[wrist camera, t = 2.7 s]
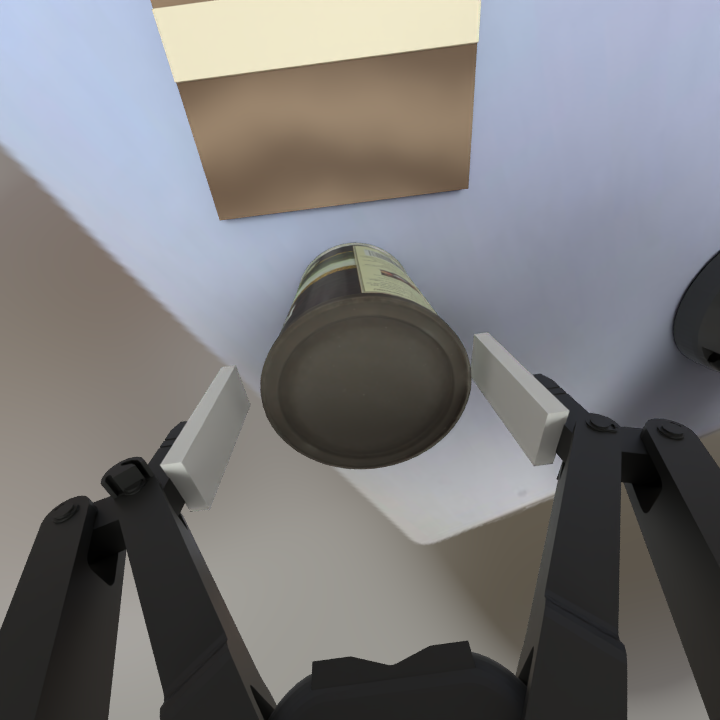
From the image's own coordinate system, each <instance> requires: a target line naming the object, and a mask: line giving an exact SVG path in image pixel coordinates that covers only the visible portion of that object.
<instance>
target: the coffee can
mask: <svg viewBox="0 0 720 720" xmlns="http://www.w3.org/2000/svg"><path fill="white" fill-rule="evenodd" d="M260 384H261V389H260V390H261V398H262V403H263V407H264V410H265V413H266V416H267V418H268V420H269V422H270V423H271V425H272V427H273V428H274V430H275V431H276V433H277V434H278V435H279V436H280V437H281V438H282V439H283V440H284V441H285V442H286V443H287V444H289V445H290V446H291V447H292V448H293V449H295V450H296V451H297V452H299V453H301V454H303V455H305V456H306V457H308V458H310V459H313V460H315V461H318V462H320V463H323V464H326V465H330V466H334V467H340V468H346V469H374V468H381V467H387V466H391V465H395V464H398V463H401V462H404V461H407V460H409V459H412V458H414V457H416V456H418V455H420V454H422V453H423V452H425V451H427V450H428V449H430V448H432V447H433V446H434V445H436V444H437V443H438V442H439V441H441V440H442V439H443V438H444V437H445V436H446V435H447V434H448V433H449V432H450V430H451V429H452V428H453V427H454V426H455V424H456V423H457V422H458V420H459V418H460V417H461V415H462V413H463V411H464V409H465V406H466V404H467V402H468V398H469V395H470V390H471V367H470V362H469V359H468V355H467V353H466V350H465V348H464V346H463V344H462V343H461V341H460V339H459V338H458V336H457V335H456V334H455V332H454V331H453V330H452V329H451V328H450V327H449V325H448V324H447V323H446V322H444V321H443V320H442V319H441V318H440V317H439V316H438V315H437V314H436V312H435V311H434V310H433V308H432V307H431V306H430V304H429V303H428V302H427V300H426V299H425V298H424V296H423V295H422V294H421V292H420V291H419V290H418V288H417V287H416V286H415V285H414V283H413V282H412V281H411V279H410V278H409V277H408V275H407V274H406V272H405V270H404V268H403V267H402V265H401V264H400V263H399V262H398V261H397V260H396V259H395V258H394V257H393V256H392V255H390V254H389V253H387V252H386V251H384V250H382V249H380V248H378V247H375V246H372V245H368V244H362V243H348V244H342V245H338V246H335V247H333V248H330V249H328V250H327V251H325V252H323V253H322V254H320V255H319V256H318V257H317V258H316V259H314V260H313V261H312V262H311V263H310V265H309V266H308V267H307V269H306V271H305V272H304V274H303V276H302V279H301V281H300V285H299V288H298V291H297V294H296V297H295V299H294V301H293V304H292V306H291V309H290V311H289V313H288V316H287V318H286V320H285V323H284V325H283V328H282V330H281V333H280V335H279V337H278V338H277V339H276V341H275V342H274V344H273V346H272V348H271V349H270V351H269V353H268V355H267V358H266V360H265V363H264V366H263V370H262V375H261V383H260Z"/></svg>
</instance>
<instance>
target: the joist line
mask: <svg viewBox="0 0 720 720" xmlns="http://www.w3.org/2000/svg"><path fill="white" fill-rule="evenodd" d="M480 8H481V0H214V1H207V2H199V3H192V4H185V5H177V6H170V7H162V8H155V9H152V11H153V14H154V17H155V21H156V24H157V27H158V30H159V33H160V36H161V39H162V43H163V46H164V49H165V52H166V55H167V58H168V62H169V65H170V68H171V71H172V74H173V77H174V81H175V82H176V83H182V82H189V81H197V80H205V79H212V78H220V77H227V76H235V75H242V74H250V73H257V72H265V71H272V70H280V69H287V68H295V67H302V66H310V65H317V64H325V63H332V62H340V61H348V60H355V59H363V58H370V57H378V56H385V55H393V54H400V53H408V52H415V51H423V50H430V49H438V48H445V47H453V46H460V45H468V44H475V43H478V40H479V24H480Z"/></svg>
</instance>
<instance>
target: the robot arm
mask: <svg viewBox="0 0 720 720" xmlns="http://www.w3.org/2000/svg"><path fill="white" fill-rule="evenodd" d="M674 339H675V343H676V345H677V347H678V349H679V350H680V352H681V353H682V354H683V355H684V356H686V357H687V358H689V359H691V360H693V361H695V362H697V363H699V364H701V365H703V366H705V367H707V368H709V369H711V370H714V371H717V372H720V253H719V254H718V255H717V256H716V257H715V258H714V259H713V260H712V261H711V262H710V263H709V264H708V265H707V266H706V267H705V268H704V269H703V271H702V272H701V273H700V274H699V275H698V277H697V278H696V279H695V281H694V282H693V283H692V285H691V286H690V288H689V289H688V291H687V293H686V294H685V296H684V298H683V300H682V302H681V304H680V306H679V309H678V312H677V315H676V318H675V323H674ZM471 378H472V379H473V381H474V382H475V383H476V385H477V386H478V388H479V389H480V390H481V392H482V393H483V395H484V396H485V398H486V399H487V400H488V402H489V403H490V405H491V406H492V407H493V409H494V410H495V412H496V413H497V415H498V416H499V417H500V419H501V420H502V422H503V423H504V424H505V426H506V427H507V429H508V430H509V431H510V433H511V434H512V436H513V437H514V439H515V440H516V441H517V443H518V444H519V446H520V447H521V448H522V450H523V451H524V453H525V454H526V456H527V457H528V458H529V460H530V461H531V463H532V464H533V465H534V466H539V465H546V464H553V461H554V458H555V455H556V453H557V454H558V456H559V457H560V458H561V459H562V460H563V462H562V465H561V468H560V471H559V474H558V477H557V480H558V483H557V488H556V492H555V497H554V502H553V507H552V512H551V517H550V521H549V526H548V532H547V536H546V541H545V545H544V550H543V555H542V560H541V565H540V570H539V574H538V579H537V584H536V589H535V594H534V598H533V603H532V608H531V613H530V618H529V622H528V628H527V633H526V636H525V641H524V645H523V648H522V652H521V655H520V659H519V663H518V668H517V672H516V676H515V675H514V674H513V673H512V672H511V671H509V670H508V669H507V668H505V667H504V666H502V665H501V664H499V663H498V662H496V661H494V660H492V659H490V658H488V657H486V656H483V655H481V654H478V653H474V652H471V649H470V646H469V642H468V641H462V642H455V643H447V644H440V645H433V646H429V647H427V648H425V649H423V650H421V651H419V652H417V653H416V654H414V655H412V656H410V657H408V658H406V659H404V660H402V661H401V662H399V663H397V664H394V665H385V664H381V663H377V662H372V661H368V660H364V659H359V658H355V657H344V658H336V659H329V660H322V661H314V662H313V663H312V674H311V675H309V676H307V677H305V678H304V679H303V680H301V681H300V682H298V683H297V684H296V685H295V686H294V687H293V688H292V689H291V690H290V691H289V692H288V693H287V694H286V695H285V696H284V697H283V699H282V700H281V701H280V702H279V703H278V705H276V703H275V701H274V699H273V697H272V696H271V693H270V692H269V690H268V688H267V687H266V685H265V683H264V682H263V680H262V678H261V677H260V674H259V673H258V671H257V669H256V667H255V665H254V662H253V660H252V658H251V656H250V654H249V652H248V650H247V648H246V646H245V644H244V642H243V639H242V638H241V635H240V633H239V631H238V629H237V627H236V625H235V623H234V621H233V619H232V617H231V615H230V613H229V610H228V608H227V606H226V604H225V602H224V600H223V598H222V596H221V594H220V592H219V590H218V587H217V585H216V583H215V581H214V579H213V577H212V575H211V573H210V571H209V569H208V567H207V565H206V562H205V560H204V558H203V556H202V554H201V552H200V550H199V548H198V546H197V544H196V542H195V540H194V538H193V535H192V534H191V531H190V529H189V527H188V525H187V523H186V521H185V519H184V517H183V515H182V514H181V510H182V508H183V506H184V504H185V503H186V505H187V507H188V508H189V510H190V511H191V512H193V511H200V510H208V509H210V507H211V505H212V502H213V500H214V497H215V495H216V492H217V489H218V487H219V484H220V482H221V479H222V477H223V474H224V471H225V469H226V466H227V464H228V461H229V459H230V456H231V453H232V451H233V448H234V446H235V443H236V441H237V438H238V436H239V433H240V430H241V428H242V425H243V423H244V420H245V418H246V415H247V413H248V410H249V407H250V403H249V400H248V397H247V394H246V392H245V389H244V386H243V384H242V381H241V378H240V376H239V373H238V371H237V368H236V365H235V366H227V367H222V368H221V369H220V371H219V372H218V374H217V375H216V377H215V379H214V380H213V382H212V383H211V385H210V386H209V388H208V390H207V391H206V393H205V395H204V396H203V398H202V399H201V401H200V402H199V404H198V406H197V407H196V409H195V410H194V412H193V413H192V415H191V417H190V418H189V420H188V421H184V422H180V423H179V424H178V425H177V426H176V427H174V428H173V429H172V430H171V431H170V433H169V434H168V436H167V437H166V439H165V441H164V442H163V443H162V445H161V446H160V448H159V449H158V451H157V452H156V453H155V455H154V456H153V458H152V459H151V461H150V462H149V464H148V465H147V463H146V462H145V460H144V459H143V458H142V457H132V458H128V459H126V460H123V461H121V462H119V463H118V464H116V465H114V466H113V467H112V468H110V469H109V470H108V471H107V472H106V473H105V475H104V476H103V478H102V480H101V485H102V486H103V487H104V488H105V489H106V491H107V492H108V493H109V494H110V495H111V496H110V497H107V498H104V499H102V500H99V501H96V502H94V503H93V502H92V501H91V500H90V499H89V498H88V497H86V496H77V497H74V498H71V499H69V500H67V501H65V502H63V503H61V504H60V505H58V506H57V507H55V508H54V509H53V510H52V511H51V512H50V513H49V514H48V515H47V516H46V517H45V519H44V520H43V522H42V523H41V526H40V529H39V531H38V534H37V537H36V539H35V542H34V544H33V547H32V549H31V552H30V554H29V557H28V560H27V562H26V565H25V567H24V570H23V573H22V575H21V578H20V580H19V583H18V586H17V588H16V591H15V593H14V596H13V598H12V601H11V604H10V606H9V609H8V611H7V614H6V617H5V619H4V622H3V624H2V627H1V629H0V720H108V715H109V704H110V696H111V686H112V677H113V669H114V659H115V650H116V640H117V631H118V622H119V613H120V604H121V595H122V585H123V576H124V566H125V558H126V549H127V553H128V557H129V561H130V565H131V568H132V572H133V576H134V580H135V584H136V587H137V592H138V596H139V599H140V603H141V607H142V611H143V615H144V619H145V623H146V626H147V630H148V634H149V638H150V642H151V646H152V650H153V654H154V657H155V661H156V665H157V669H158V673H159V677H160V681H161V685H162V688H163V693H164V703H163V705H162V706H161V708H160V720H627V657H626V656H627V655H626V650H625V646H624V645H623V643H622V642H621V641H620V640H619V636H618V612H619V558H620V554H619V553H620V500H621V482H624V485H625V488H626V490H627V493H628V496H629V499H630V501H631V504H632V507H633V510H634V512H635V515H636V518H637V521H638V523H639V526H640V529H641V532H642V534H643V537H644V540H645V543H646V545H647V548H648V551H649V554H650V556H651V559H652V562H653V565H654V567H655V570H656V573H657V576H658V578H659V581H660V584H661V587H662V589H663V592H664V595H665V598H666V601H667V603H668V606H669V609H670V612H671V614H672V617H673V620H674V623H675V625H676V628H677V631H678V633H679V636H680V639H681V641H682V645H683V647H684V650H685V653H686V655H687V658H688V661H689V663H690V667H691V669H692V672H693V674H694V678H695V680H696V683H697V686H698V689H699V691H700V694H701V697H702V700H703V702H704V705H705V708H706V710H707V713H708V716H709V719H710V720H720V468H719V467H718V465H717V464H716V462H715V461H714V460H713V458H712V457H711V456H710V454H709V452H708V451H707V450H706V448H705V447H704V445H703V444H702V442H701V441H700V439H699V438H698V437H697V435H696V434H695V433H694V432H693V431H692V430H690V429H689V428H687V427H685V426H684V425H681V424H679V423H676V422H674V421H670V420H665V419H651V420H648V421H647V423H646V424H645V426H644V428H643V429H640V428H629V427H620V426H619V425H618V424H617V423H616V422H615V421H613V420H611V419H610V418H608V417H605V416H602V415H599V414H593V413H588V412H587V411H586V410H585V409H584V408H583V407H582V406H581V405H580V404H578V403H577V402H576V401H575V400H574V399H573V398H572V397H571V396H570V395H568V394H566V392H565V391H564V390H563V389H562V388H560V386H558V385H557V384H556V383H555V382H554V381H553V380H552V379H550V378H548V377H546V376H544V375H542V374H535V375H532V374H531V373H530V372H529V371H528V370H526V369H525V368H524V367H523V366H522V365H521V364H520V363H519V362H518V361H517V360H516V359H515V358H514V357H513V356H512V355H511V354H510V353H509V352H508V351H507V350H506V349H505V348H504V347H503V346H502V345H501V344H500V343H498V342H497V341H496V340H495V339H494V338H493V337H492V336H491V335H490V334H489V333H488V332H487V333H479V334H474V340H473V351H472V362H471Z"/></svg>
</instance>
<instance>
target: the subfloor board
mask: <svg viewBox="0 0 720 720" xmlns="http://www.w3.org/2000/svg"><path fill="white" fill-rule="evenodd" d="M207 1H214V0H151V3H152V7H153V9H155V8H162V7H170V6H177V5H185V4H192V3H199V2H207ZM476 53H477V43H475V44H468V45H460V46H453V47H445V48H438V49H430V50H423V51H415V52H408V53H400V54H393V55H385V56H378V57H370V58H363V59H355V60H348V61H340V62H332V63H325V64H317V65H310V66H302V67H295V68H287V69H280V70H272V71H265V72H257V73H250V74H242V75H235V76H227V77H220V78H212V79H205V80H197V81H189V82H182V83H177V86H178V89H179V92H180V95H181V99H182V102H183V105H184V108H185V111H186V115H187V118H188V121H189V124H190V127H191V130H192V134H193V137H194V140H195V143H196V146H197V149H198V153H199V156H200V159H201V162H202V165H203V169H204V172H205V175H206V178H207V181H208V184H209V188H210V191H211V194H212V197H213V200H214V203H215V207H216V210H217V213H218V216H219V219H220V220H227V219H235V218H242V217H250V216H258V215H266V214H274V213H281V212H289V211H297V210H305V209H312V208H320V207H328V206H336V205H344V204H351V203H359V202H367V201H375V200H383V199H390V198H398V197H406V196H414V195H421V194H429V193H437V192H445V191H453V190H460V189H468V185H469V169H470V152H471V135H472V119H473V102H474V86H475V69H476Z"/></svg>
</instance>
